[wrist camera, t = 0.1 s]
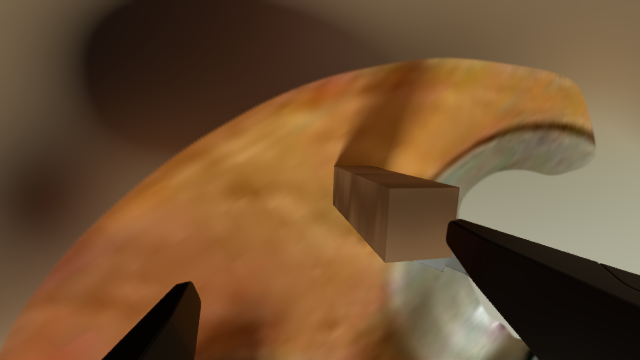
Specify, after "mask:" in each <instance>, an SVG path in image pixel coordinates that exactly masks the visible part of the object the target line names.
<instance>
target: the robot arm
mask: <svg viewBox="0 0 640 360" xmlns="http://www.w3.org/2000/svg"><path fill="white" fill-rule="evenodd" d="M446 243H447V245H448V247H449V248H450V250H451V251H452V252H453V254H454V255H455V257H456V258H457V259H458V261H459V262H460V264H461V265H462V267H463V268H464V269H465V271H466V272H467V274H468V275H469V277H470V278H471V279H472V281H473V282H474V283H475V284H476V286H477V287H478V288H479V289H480V290H481V292H482V293H483V294H484V295H485V296H486V298H487V299H488V300H489V301H490V302H491V303H492V305H494V307H495V308H496V309H497V311H498V312H499V313H500V314H501V315H502V316H503V318H504V319H505V320H506V321H507V322H508V324H509V325H510V326H511V327H512V328H513V329H514V331H515V332H516V333H517V334H518V335H519V337H520V338H521V339H522V340H523V341H524V343H525V344H526V345H527V346H528V347H529V349H530V350H531V351H532V352H533V353H534V354H535V356H536V357H537V358H538V359H539V360H640V275H637V274H634V273H631V272H627V271H624V270H621V269H618V268H615V267H612V266H608V265H605V264H602V263H600V264H599V263H598V262H595V261H592V260H589V259H586V258H583V257H579V256H576V255H573V254H570V253H567V252H564V251H560V250H558V249H554V248H551V247H548V246H545V245H542V244H539V243H535V242H532V241H529V240H526V239H523V238H520V237H516V236H513V235H510V234H507V233H504V232H500V231H497V230H494V229H491V228H488V227H485V226H482V225H479V224H475V223H472V222H469V221H466V220H462V219H456V220H452V221H450V222H449V223H448V226H447V233H446ZM200 310H201V300H200V297H199V295H198V293H197V291H196V288H195V286H194V284H193V283H192V282H191V281H187V282H183V283H179V284H176V285H175V286H174V287H173V288H172V289H171V290H170V291H169V292H168V293H167V294H166V295H165V296H164V297H163V298H162V299H161V300H160V301H159V302H158V303H157V304H156V305H155V306H154V307H153V308H152V309H151V310H150V311H149V312H148V313H147V314H146V315H145V316H144V317H143V318H142V319H141V320H140V321H139V322H138V323H137V324H136V325H135V326H134V327H133V328H132V329H131V330H130V331H129V332H128V333H127V334H126V335H125V336H124V337H123V338H122V339H121V340H120V341H119V342H118V343H117V344H116V345H115V346H114V347H113V349H112V350H111V351H110V352H109V353H108V354H107V355H106V356H105V357H104V358H103V359H102V360H194V358H195V351H196V343H197V335H198V326H199V318H200Z"/></svg>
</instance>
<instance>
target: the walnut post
mask: <svg viewBox="0 0 640 360" xmlns="http://www.w3.org/2000/svg"><path fill="white" fill-rule="evenodd" d="M458 196H459V187H455V186H451V185H447V184H443V183H438V182H434V181H430V180H426V179H422V178H418V177H414V176H410V175H406V174H402V173H398V172H393V171H389V170H385V169H381V168H377V167H373V166H334V188H333V205H334V206H335V207H336V208H337V210H338V211H339V212H340V213H341V214H342V215H343V216H344V217H345V219H346V220H347V221H348V222H349V223H350V224H351V225H352V226H353V227H354V229H355V230H356V231H357V232H358V233H359V234H360V235H361V236H362V238H363V239H364V240H365V241H366V242H367V243H368V244H369V245H370V247H371V248H372V249H373V250H374V251H375V252H376V253H377V254H378V255H379V257H380V258H381V259H382V260H383V261H384V262H385V263H388V262H401V261H414V260H427V259H440V258H452V251H451V250H450V248H449V247H448V245H447V243H446V233H447V226H448V223H449V222H450V221H452V220H456V214H457V205H458Z"/></svg>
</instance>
